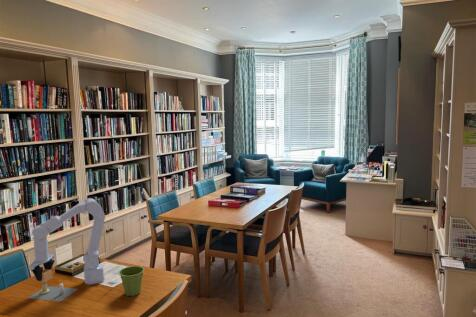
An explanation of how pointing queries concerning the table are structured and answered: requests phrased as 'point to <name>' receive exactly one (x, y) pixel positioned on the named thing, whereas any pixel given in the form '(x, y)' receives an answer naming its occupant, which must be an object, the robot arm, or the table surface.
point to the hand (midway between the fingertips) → (43, 278)
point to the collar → (45, 275)
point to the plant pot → (132, 279)
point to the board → (52, 293)
